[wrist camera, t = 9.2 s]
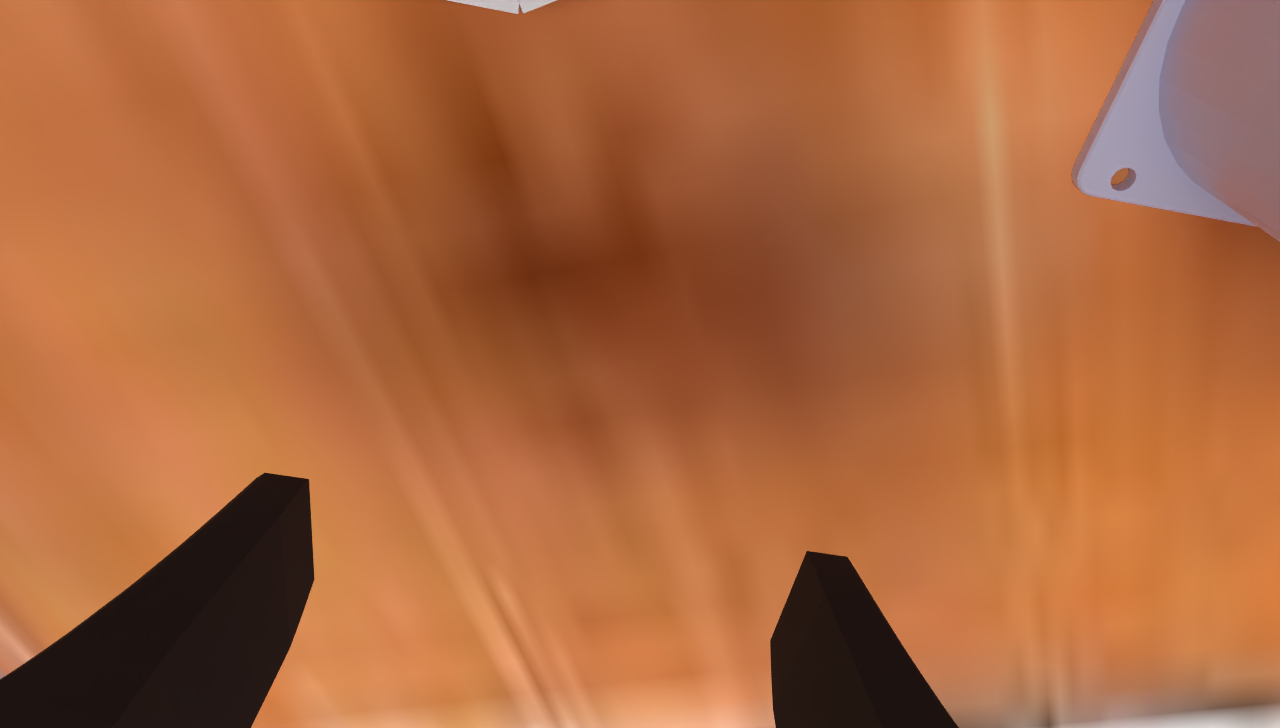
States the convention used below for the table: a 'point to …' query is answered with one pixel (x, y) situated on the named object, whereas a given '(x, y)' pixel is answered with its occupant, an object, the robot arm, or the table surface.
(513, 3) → the carrier
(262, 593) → the robot arm
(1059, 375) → the table surface
